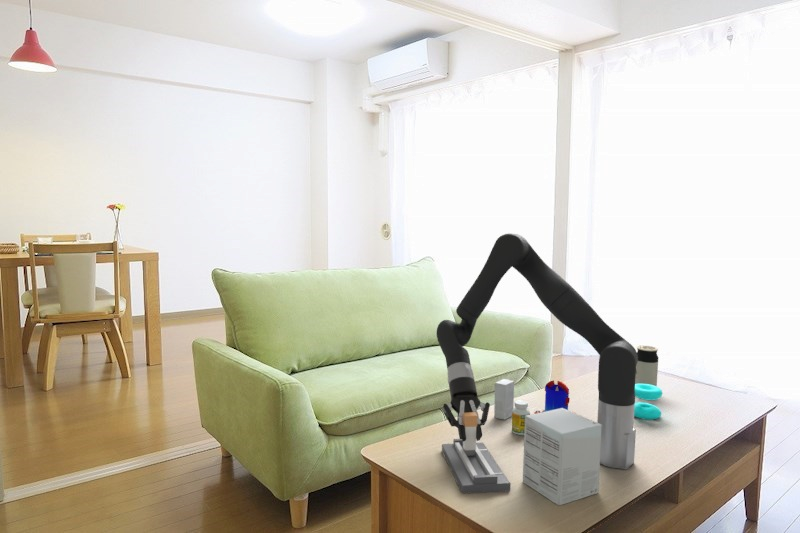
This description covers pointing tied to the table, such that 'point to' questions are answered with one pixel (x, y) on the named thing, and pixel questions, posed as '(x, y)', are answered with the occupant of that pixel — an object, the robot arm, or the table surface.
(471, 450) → the fader
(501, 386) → the skincare box
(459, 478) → the grey rail track base
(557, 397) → the fantasy tower
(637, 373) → the travel mug
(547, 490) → the supplement box
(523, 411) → the supplement bottle
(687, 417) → the table surface
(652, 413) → the donuts
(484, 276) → the robot arm
